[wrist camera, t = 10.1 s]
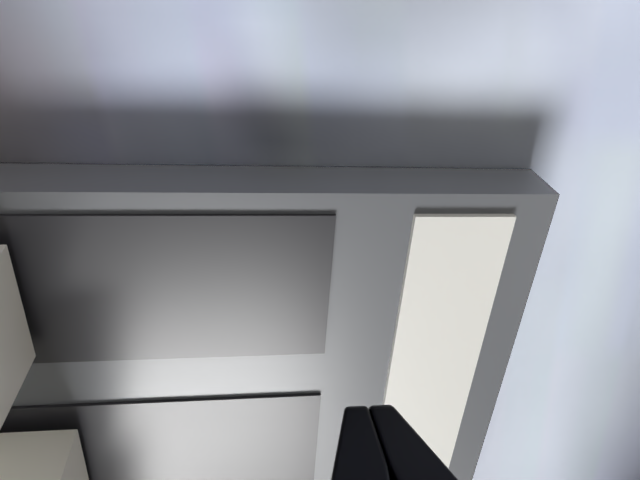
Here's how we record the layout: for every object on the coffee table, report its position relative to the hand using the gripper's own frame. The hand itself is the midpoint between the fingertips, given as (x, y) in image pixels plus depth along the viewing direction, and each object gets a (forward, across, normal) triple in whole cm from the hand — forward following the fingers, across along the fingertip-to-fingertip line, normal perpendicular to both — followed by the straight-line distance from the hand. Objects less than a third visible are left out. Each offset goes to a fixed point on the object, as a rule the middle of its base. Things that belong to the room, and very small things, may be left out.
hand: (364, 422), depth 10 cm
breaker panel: (+6, +5, +6) cm, 9 cm away
